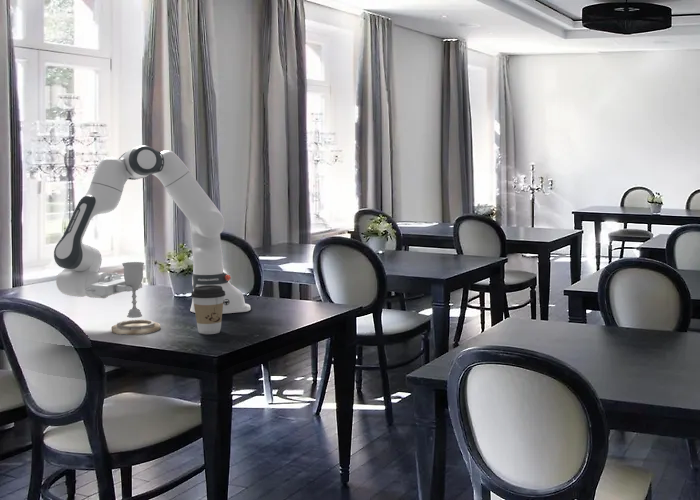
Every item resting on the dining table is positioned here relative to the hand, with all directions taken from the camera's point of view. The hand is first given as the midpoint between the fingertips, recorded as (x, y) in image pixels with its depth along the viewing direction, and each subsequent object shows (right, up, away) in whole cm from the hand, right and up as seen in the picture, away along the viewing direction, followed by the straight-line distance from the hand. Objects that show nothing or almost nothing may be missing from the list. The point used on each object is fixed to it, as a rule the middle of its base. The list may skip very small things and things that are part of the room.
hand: (136, 287), depth 285 cm
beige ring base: (-1, -14, +2) cm, 15 cm away
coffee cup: (+25, -15, -3) cm, 29 cm away
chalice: (-1, -10, +1) cm, 10 cm away
